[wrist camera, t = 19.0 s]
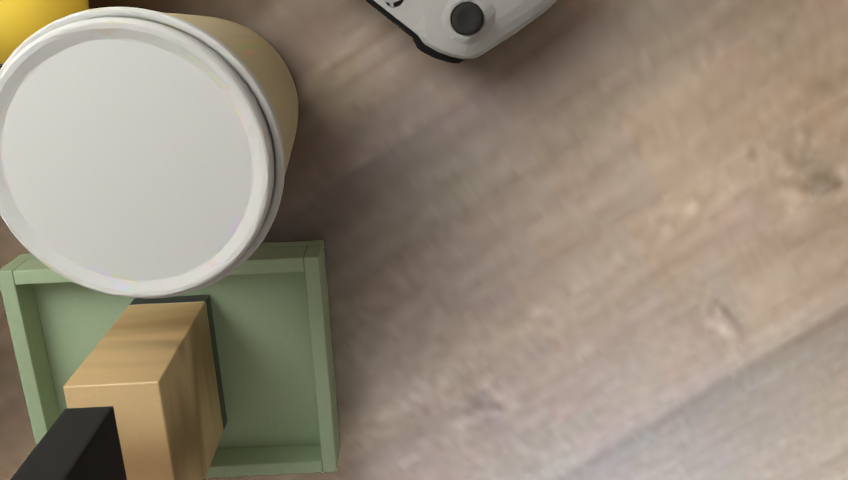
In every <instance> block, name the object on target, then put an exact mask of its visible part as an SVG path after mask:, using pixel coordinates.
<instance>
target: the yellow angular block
mask: <svg viewBox="0 0 848 480" xmlns="http://www.w3.org/2000/svg"><path fill="white" fill-rule="evenodd" d="M85 10H89V3H88V0H0V63H1V64H4V63H5V61H6V60H7V59H8V58H9V57H10V55H11V54H12V53H13V52H14V50H15V49H16V48H18V47H19V46H20V45H21V44H22V43H23V42H24V41H25V40H26V39H27V38H28V37H30V36H31V35H33V34H34V33H35V32H37V31H38V30H40V29H41V28H43V27H45V26H47V25H48V24H50V23H52V22H54V21H56V20H58V19H61V18H63V17H66V16H68V15H70V14H74V13H78V12H81V11H85Z"/></svg>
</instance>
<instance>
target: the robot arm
mask: <svg viewBox="0 0 848 480" xmlns="http://www.w3.org/2000/svg"><path fill="white" fill-rule="evenodd" d="M11 480H127V477H126V472H125V466H124V461H123V456H122V450H121V445H120V440H119V434H118V429H117V424H116V418H115V413H114V408H113V406H107V407H86V408H66V409H64V411H63V412H62V413H61V414H60V416H59V417H58V418H57V420H56V421H55V422H54V424H53V425H52V426H51V427H50V429H49V430H48V431H47V433H46V434H45V435H44V437H43V438H42V439H41V441H40V442H39V443H38V444H37V446H36V447H35V448H34V450H33V451H32V452H31V454H30V455H29V456H28V457H27V459H26V460H25V461H24V463H23V464H22V465H21V467H20V468H19V469H18V471H17V472H16V473H15V474H14V476H13V477H12V478H11Z"/></svg>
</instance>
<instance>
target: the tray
mask: <svg viewBox="0 0 848 480" xmlns="http://www.w3.org/2000/svg"><path fill="white" fill-rule="evenodd" d="M0 290H1V294H2V298H3V303H4V307H5V312H6V316H7V320H8V325H9V329H10V334H11V338H12V342H13V347H14V351H15V356H16V360H17V364H18V369H19V373H20V377H21V382H22V386H23V391H24V395H25V399H26V404H27V408H28V413H29V417H30V421H31V426H32V430H33V435H34V439H35V443H36V446H37V444H38V443H39V442H40V441H41V439H42V438H43V437H44V435H45V434H46V433H47V431H48V430H49V429H50V427H51V426H52V425H53V424H54V422H55V421H56V420H57V418H58V417H59V416H60V414H61V413H62V412H63V411H64V409H66V408H67V404H66V399H65V394H64V390H63V386H64V385H65V384H66V382H67V381H68V380H69V379H70V377H71V376H72V375H73V374H74V373H75V371H76V370H77V369H78V368H79V366H80V365H81V364H82V363H83V361H84V360H85V359H86V358H87V357H88V355H89V354H90V353H91V352H92V350H93V349H94V348H95V347H96V345H97V344H98V343H99V342H100V341H101V339H102V338H103V337H104V336H105V334H106V333H107V332H108V331H109V329H110V328H111V327H112V326H113V325H114V323H115V322H116V321H117V320H118V318H119V317H120V316H121V315H122V313H123V312H124V311H125V310H126V309H127V307H128V306H129V305H130V303H131V302H132V301H133V300H134V299H135V298H130V297H122V296H114V295H109V294H105V293H102V292H98V291H95V290H92V289H89V288H86V287H83V286H81V285H78V284H76V283H74V282H72V281H70V280H68V279H66V278H64V277H63V276H61V275H59V274H57V273H56V272H54V271H53V270H51V269H50V268H49V267H47V266H46V265H44V264H43V263H42V262H41V261H39V260H38V259H37V258H36V257H35V256H33V255H32V254H31V253H28V254H20V255H18V256H17V257H16V258H14V259H13V260H12V261H10V262H9V263H8V264H6V265H5V266H3V267H2V268H1V269H0ZM193 295H210V299H211V307H212V314H213V321H214V329H215V336H216V343H217V351H218V358H219V366H220V373H221V380H222V388H223V395H224V402H225V410H226V417H227V424H226V426H225V429H224V431H223V434H222V436H221V439H220V441H219V444H218V447H217V449H216V452H215V454H214V457H213V460H212V462H211V465H210V468H209V470H208V473H207V475H206V478H223V477H243V476H263V475H282V474H302V473H321V472H324V473H327V472H337V468H338V460H339V452H340V434H339V422H338V410H337V398H336V386H335V374H334V362H333V350H332V338H331V326H330V314H329V302H328V290H327V278H326V265H325V253H324V241H323V240H316V241H293V242H271V243H261V244H260V245H259V246H258V248H257V249H256V250H255V252H254V253H253V254H252V255H251V256H250V257H249V258H248V259H247V260H246V261H245V262H244V263H243V264H242V265H240V266H239V267H238V268H237V269H236V270H234V271H233V272H232V273H230V274H229V275H227V276H226V277H224V278H223V279H221V280H219V281H217V282H215V283H213V284H211V285H209V286H207V287H205V288H202V289H199V290H197V291H194V292H191V293H187V294H183V295H179V296H193Z"/></svg>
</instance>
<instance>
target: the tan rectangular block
mask: <svg viewBox="0 0 848 480" xmlns="http://www.w3.org/2000/svg"><path fill="white" fill-rule="evenodd" d="M63 390H64V394H65V399H66V404H67V408H86V407H107V406H113V408H114V413H115V418H116V424H117V429H118V434H119V440H120V445H121V450H122V456H123V461H124V466H125V472H126V477H127V480H205V478H206V475H207V473H208V470H209V468H210V465H211V462H212V460H213V457H214V454H215V452H216V449H217V447H218V444H219V441H220V439H221V436H222V434H223V431H224V429H225V426H226V424H227V417H226V410H225V402H224V395H223V388H222V380H221V373H220V366H219V358H218V351H217V343H216V336H215V329H214V321H213V314H212V307H211V299H210V295H193V296H173V297H166V298H151V299H144V298H135V299H134V300H133V301H132V302H131V303H130V305H129V306H128V307H127V309H126V310H125V311H124V312H123V313H122V315H121V316H120V317H119V318H118V320H117V321H116V322H115V323H114V325H113V326H112V327H111V328H110V329H109V331H108V332H107V333H106V334H105V336H104V337H103V338H102V339H101V341H100V342H99V343H98V344H97V345H96V347H95V348H94V349H93V350H92V352H91V353H90V354H89V355H88V357H87V358H86V359H85V360H84V361H83V363H82V364H81V365H80V366H79V368H78V369H77V370H76V371H75V373H74V374H73V375H72V376H71V377H70V379H69V380H68V381H67V382H66V384H65V385H64V386H63Z"/></svg>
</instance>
